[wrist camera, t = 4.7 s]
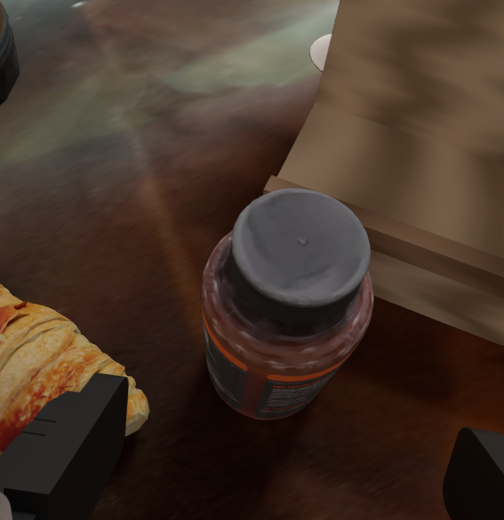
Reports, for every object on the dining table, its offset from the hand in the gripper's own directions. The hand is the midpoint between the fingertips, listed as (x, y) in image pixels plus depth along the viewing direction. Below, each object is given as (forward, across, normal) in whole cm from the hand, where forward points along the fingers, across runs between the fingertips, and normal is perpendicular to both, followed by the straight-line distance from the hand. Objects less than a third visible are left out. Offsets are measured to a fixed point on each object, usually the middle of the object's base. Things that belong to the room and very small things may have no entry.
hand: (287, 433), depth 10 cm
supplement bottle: (+11, 0, +4) cm, 12 cm away
